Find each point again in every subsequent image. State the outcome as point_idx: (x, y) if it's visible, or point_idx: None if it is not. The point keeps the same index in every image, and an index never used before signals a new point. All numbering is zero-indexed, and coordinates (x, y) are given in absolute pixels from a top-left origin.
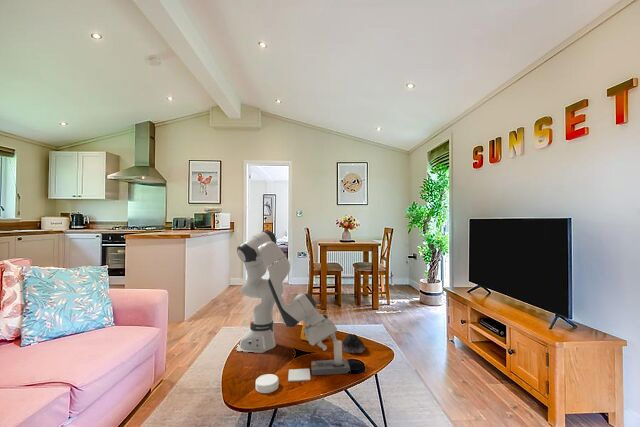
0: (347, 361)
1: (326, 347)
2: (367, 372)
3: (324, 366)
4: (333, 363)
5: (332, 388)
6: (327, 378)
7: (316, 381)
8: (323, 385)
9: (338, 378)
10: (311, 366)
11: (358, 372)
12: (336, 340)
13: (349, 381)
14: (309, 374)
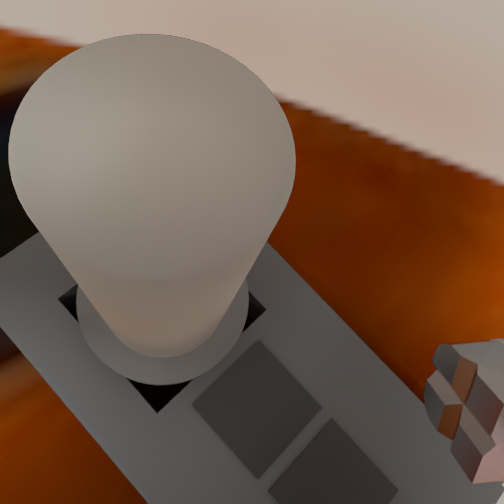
0: (36, 238)
1: (485, 347)
2: (60, 50)
3: (336, 413)
4: (243, 326)
5: (469, 175)
6: (391, 299)
7: None
8: (494, 259)
9: (322, 214)
10: None
11: None
12: (67, 244)
13: (298, 115)
14: (499, 500)
